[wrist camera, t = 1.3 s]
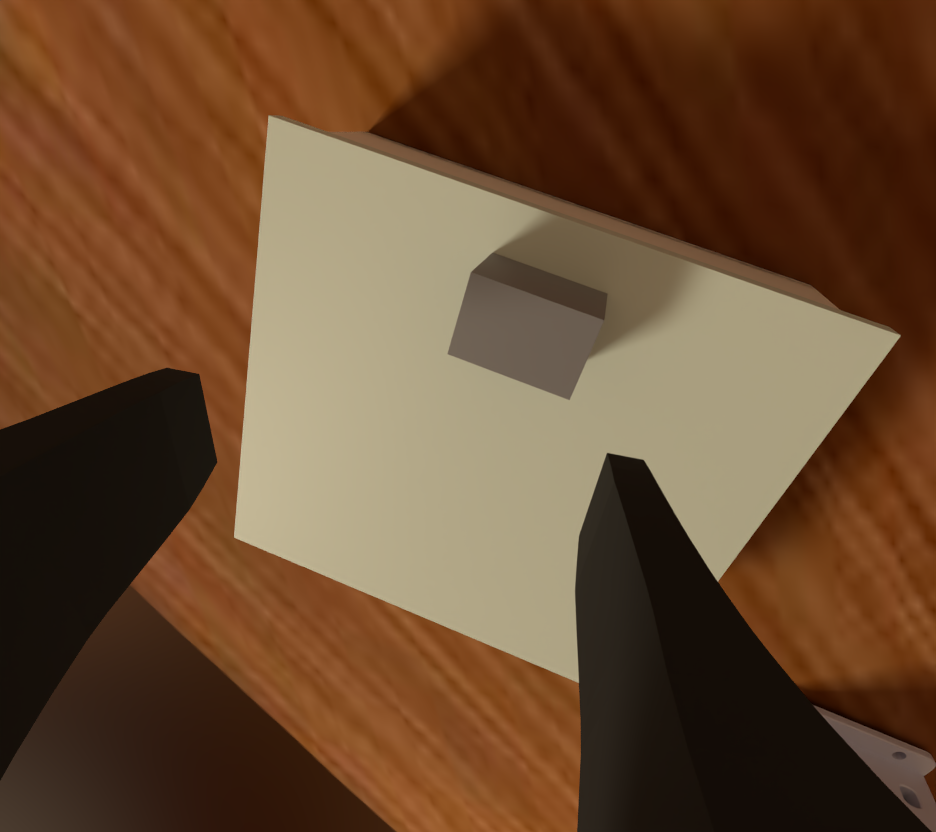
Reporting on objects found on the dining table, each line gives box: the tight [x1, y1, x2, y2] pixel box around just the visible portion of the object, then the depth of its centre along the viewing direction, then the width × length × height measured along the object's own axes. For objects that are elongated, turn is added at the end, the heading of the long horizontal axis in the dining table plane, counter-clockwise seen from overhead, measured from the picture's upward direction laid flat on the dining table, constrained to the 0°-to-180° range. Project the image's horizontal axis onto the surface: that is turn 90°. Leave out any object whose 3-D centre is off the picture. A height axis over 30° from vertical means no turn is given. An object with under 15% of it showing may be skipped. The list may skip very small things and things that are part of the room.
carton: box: [330, 132, 840, 310], centre depth 19 cm, size 15×14×4 cm
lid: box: [234, 115, 901, 683], centre depth 16 cm, size 16×15×3 cm
